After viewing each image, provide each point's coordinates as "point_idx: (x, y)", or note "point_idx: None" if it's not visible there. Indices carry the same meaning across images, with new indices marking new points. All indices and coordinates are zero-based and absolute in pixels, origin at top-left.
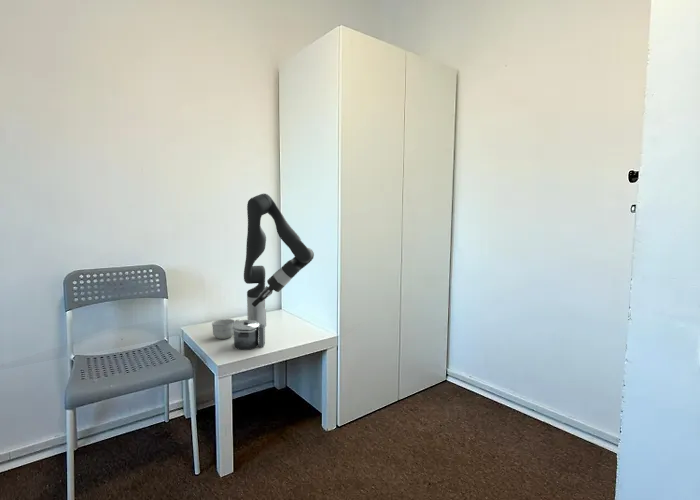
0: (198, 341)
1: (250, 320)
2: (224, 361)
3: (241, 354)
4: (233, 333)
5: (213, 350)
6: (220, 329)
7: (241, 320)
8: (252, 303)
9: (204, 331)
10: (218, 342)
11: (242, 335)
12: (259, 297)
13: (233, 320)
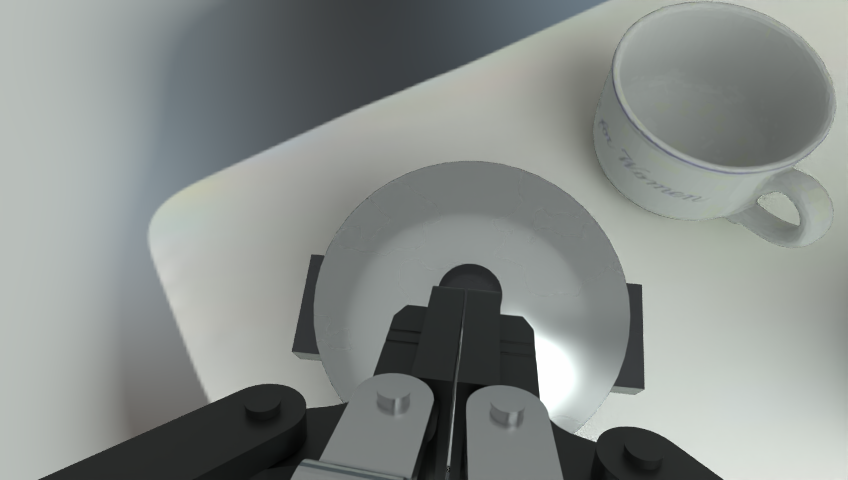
0: (573, 22)
1: (605, 338)
2: (173, 234)
3: (274, 335)
4: (667, 216)
5: (390, 136)
6: (604, 95)
7: (594, 232)
8: (431, 296)
9: (787, 17)
10: (547, 142)
11: (306, 298)
12: (131, 459)
13: (785, 158)
